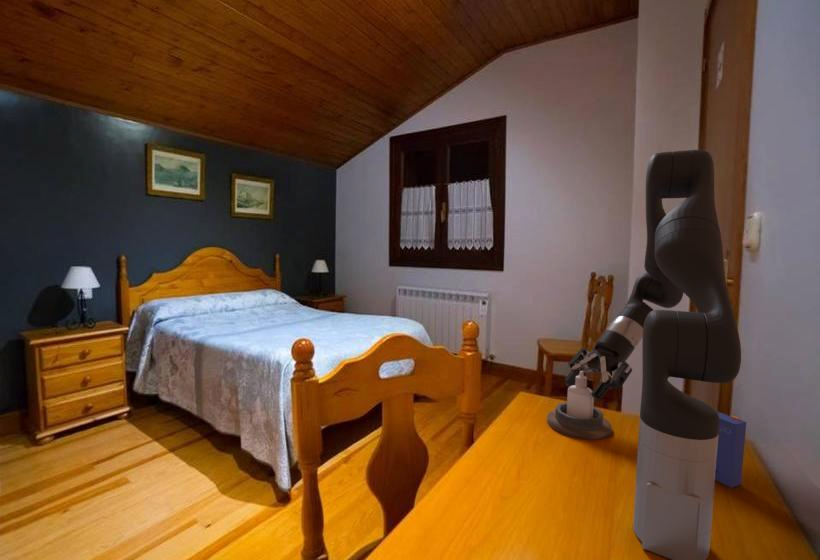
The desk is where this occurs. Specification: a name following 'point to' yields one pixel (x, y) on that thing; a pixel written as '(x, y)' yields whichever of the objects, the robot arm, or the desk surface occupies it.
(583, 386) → the eye dropper bottle
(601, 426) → the bottle collar
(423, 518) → the desk surface
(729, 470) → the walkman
